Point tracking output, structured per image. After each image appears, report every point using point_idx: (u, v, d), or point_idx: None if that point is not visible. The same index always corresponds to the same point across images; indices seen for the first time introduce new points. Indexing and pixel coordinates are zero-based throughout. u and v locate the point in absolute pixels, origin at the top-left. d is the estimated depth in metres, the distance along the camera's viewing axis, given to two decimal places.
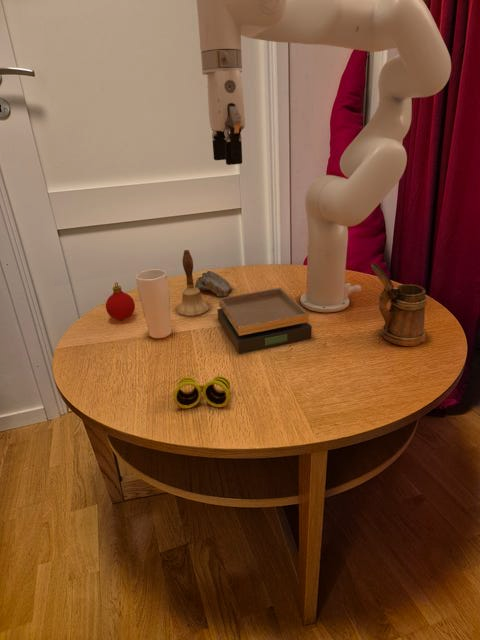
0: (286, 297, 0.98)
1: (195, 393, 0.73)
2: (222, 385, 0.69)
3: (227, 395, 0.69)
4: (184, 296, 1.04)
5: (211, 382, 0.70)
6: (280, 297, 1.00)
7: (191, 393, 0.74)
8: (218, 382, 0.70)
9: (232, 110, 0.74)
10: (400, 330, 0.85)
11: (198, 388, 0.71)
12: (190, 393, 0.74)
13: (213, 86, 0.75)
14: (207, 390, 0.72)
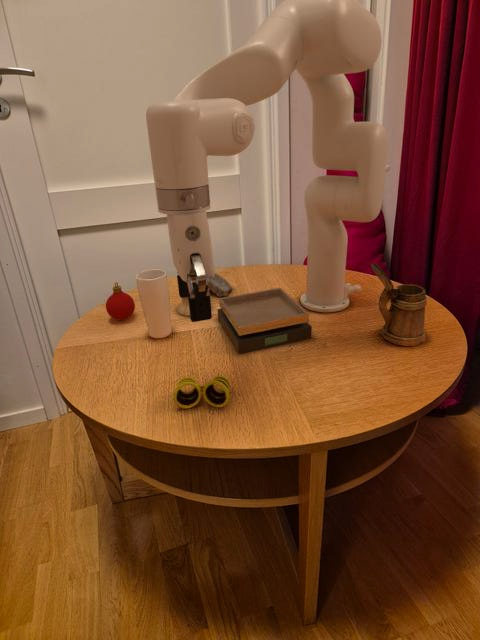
0: (286, 297, 0.98)
1: (195, 393, 0.73)
2: (222, 385, 0.69)
3: (227, 395, 0.69)
4: None
5: (211, 382, 0.70)
6: (280, 297, 1.00)
7: (191, 393, 0.74)
8: (218, 382, 0.70)
9: (196, 264, 0.56)
10: (400, 330, 0.85)
11: (198, 388, 0.71)
12: (190, 393, 0.74)
13: (172, 229, 0.57)
14: (207, 390, 0.72)
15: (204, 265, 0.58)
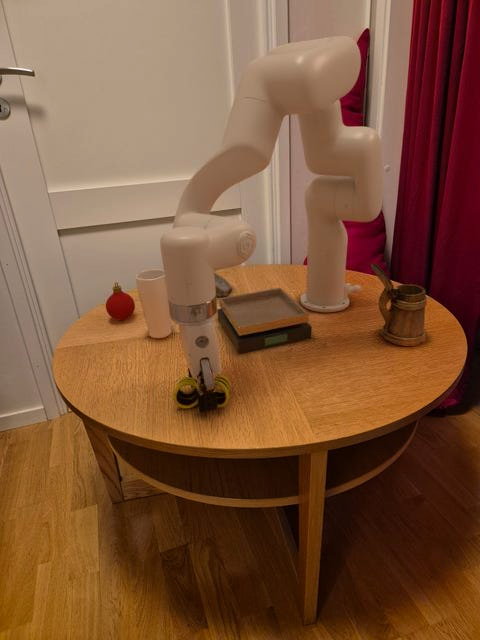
0: (286, 297, 0.98)
1: (195, 393, 0.73)
2: (222, 385, 0.69)
3: (227, 395, 0.69)
4: None
5: None
6: (280, 297, 1.00)
7: (191, 393, 0.74)
8: (218, 382, 0.70)
9: (205, 372, 0.63)
10: (400, 330, 0.85)
11: None
12: (190, 393, 0.74)
13: (183, 335, 0.64)
14: None
15: (212, 366, 0.64)
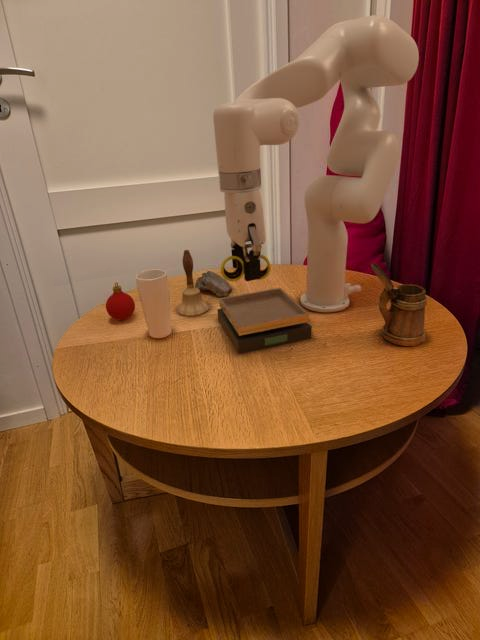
0: (286, 297, 0.98)
1: (238, 271, 0.82)
2: (264, 257, 0.78)
3: (269, 266, 0.78)
4: (184, 296, 1.04)
5: None
6: (280, 297, 1.00)
7: (234, 272, 0.83)
8: (260, 255, 0.78)
9: (253, 236, 0.72)
10: (400, 330, 0.85)
11: (242, 262, 0.79)
12: (233, 272, 0.83)
13: (232, 205, 0.73)
14: None
15: (258, 233, 0.73)
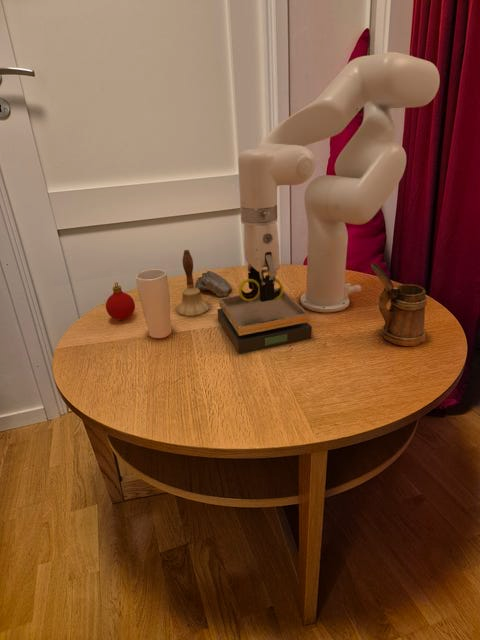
0: (286, 297, 0.98)
1: (254, 291, 0.92)
2: (278, 281, 0.88)
3: (281, 289, 0.88)
4: (184, 296, 1.04)
5: None
6: (280, 297, 1.00)
7: (250, 293, 0.93)
8: None
9: (269, 263, 0.82)
10: (400, 330, 0.85)
11: (258, 284, 0.90)
12: (249, 293, 0.93)
13: (251, 235, 0.83)
14: None
15: (274, 260, 0.83)
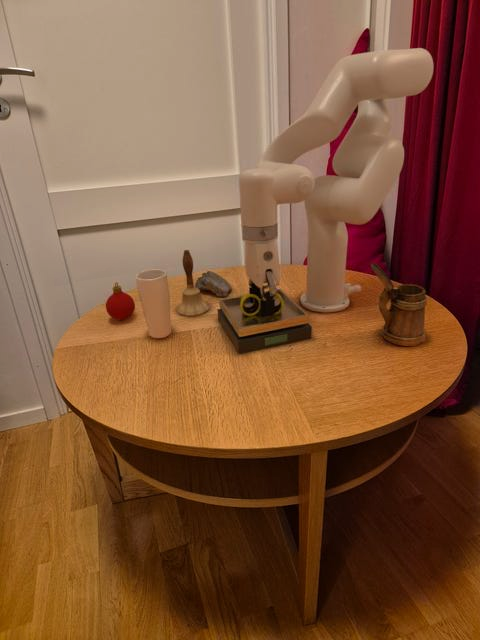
0: (286, 298, 0.98)
1: (255, 306, 0.94)
2: (278, 296, 0.90)
3: (282, 304, 0.90)
4: (184, 296, 1.04)
5: None
6: None
7: (251, 307, 0.95)
8: None
9: (269, 280, 0.84)
10: (400, 330, 0.85)
11: (259, 299, 0.91)
12: (250, 307, 0.95)
13: (252, 253, 0.85)
14: None
15: (274, 277, 0.85)
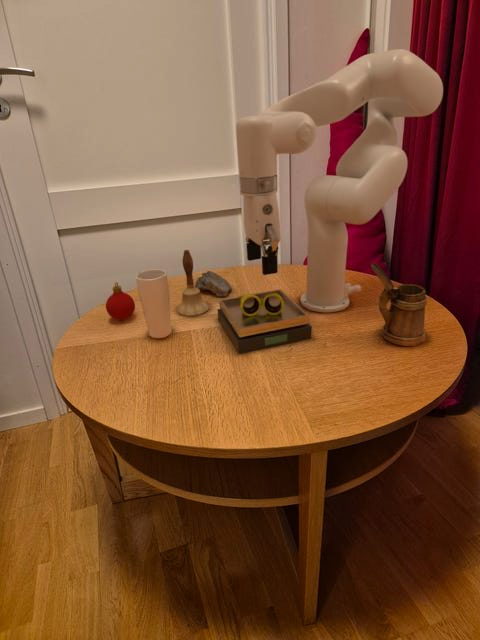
0: (286, 299, 0.98)
1: (255, 306, 0.94)
2: (278, 296, 0.90)
3: (282, 304, 0.90)
4: (184, 296, 1.04)
5: (269, 294, 0.91)
6: None
7: (251, 307, 0.95)
8: (275, 294, 0.90)
9: (270, 231, 0.79)
10: (400, 330, 0.85)
11: (259, 300, 0.91)
12: (250, 307, 0.95)
13: (251, 207, 0.80)
14: (265, 303, 0.93)
15: (274, 232, 0.81)
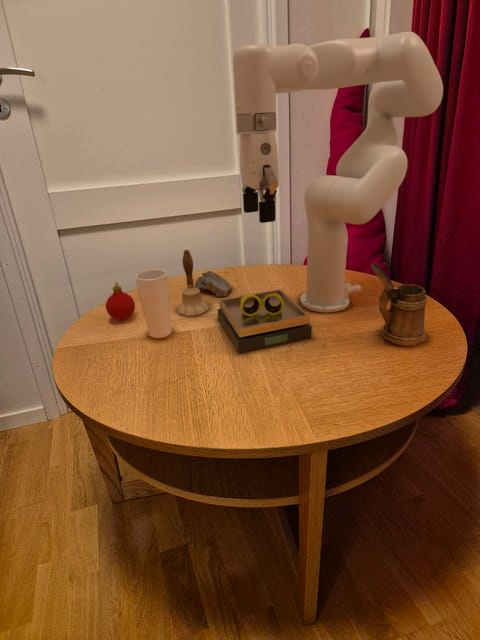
0: (286, 299, 0.98)
1: (255, 306, 0.94)
2: (278, 296, 0.90)
3: (282, 304, 0.90)
4: (184, 296, 1.04)
5: (269, 294, 0.91)
6: None
7: (251, 307, 0.95)
8: (275, 294, 0.90)
9: (268, 172, 0.74)
10: (400, 330, 0.85)
11: (259, 300, 0.91)
12: (250, 307, 0.95)
13: (248, 147, 0.75)
14: (265, 303, 0.93)
15: None
